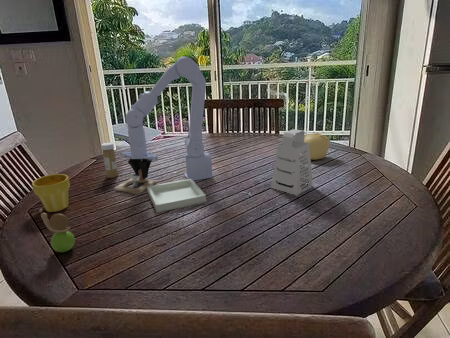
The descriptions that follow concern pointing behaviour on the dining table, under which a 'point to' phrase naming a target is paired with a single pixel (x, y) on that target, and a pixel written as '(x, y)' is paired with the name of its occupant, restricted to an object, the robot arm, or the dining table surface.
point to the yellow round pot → (317, 145)
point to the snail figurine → (59, 232)
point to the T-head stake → (134, 179)
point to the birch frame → (132, 190)
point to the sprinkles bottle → (109, 159)
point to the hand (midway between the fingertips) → (142, 177)
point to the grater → (292, 163)
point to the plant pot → (52, 191)
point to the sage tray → (175, 195)
